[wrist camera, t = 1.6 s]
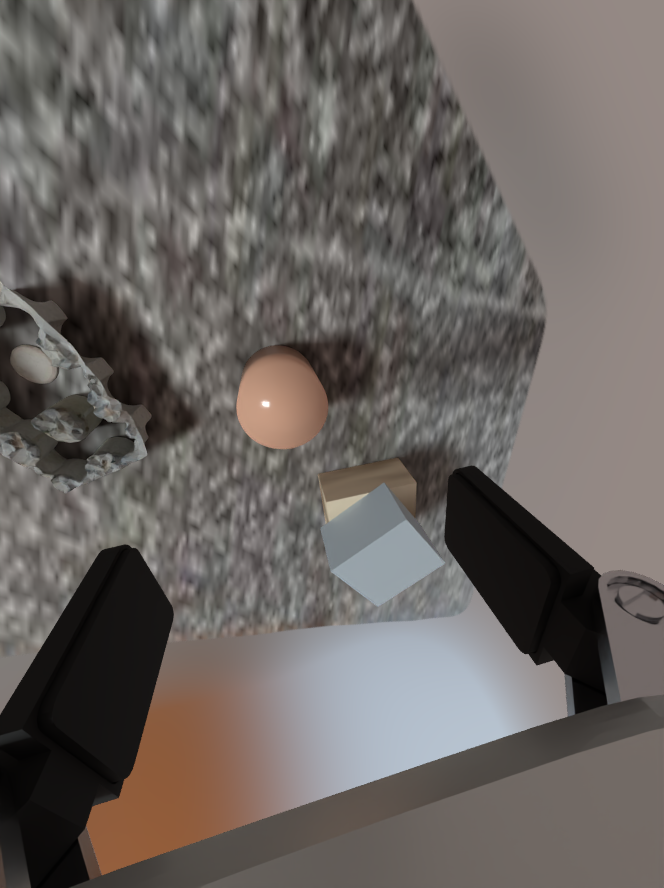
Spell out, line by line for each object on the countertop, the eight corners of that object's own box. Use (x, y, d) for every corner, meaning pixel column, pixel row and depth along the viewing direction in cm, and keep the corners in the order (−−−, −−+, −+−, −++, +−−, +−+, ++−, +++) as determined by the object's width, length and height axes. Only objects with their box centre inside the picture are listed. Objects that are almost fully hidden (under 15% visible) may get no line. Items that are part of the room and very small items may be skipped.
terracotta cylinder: (232, 352, 20) (224, 373, 15) (308, 339, 20) (321, 356, 16) (251, 421, 22) (249, 456, 18) (319, 408, 23) (333, 439, 19)
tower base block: (317, 471, 26) (326, 502, 22) (396, 455, 27) (416, 482, 23) (326, 531, 29) (335, 566, 26) (396, 515, 30) (414, 546, 27)
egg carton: (-81, 327, 16) (-176, 341, 13) (48, 270, 16) (-10, 268, 13) (74, 475, 22) (38, 514, 18) (171, 433, 22) (154, 463, 18)
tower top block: (320, 527, 23) (330, 571, 20) (384, 482, 23) (406, 519, 19) (362, 563, 26) (377, 606, 23) (420, 524, 26) (445, 563, 22)
